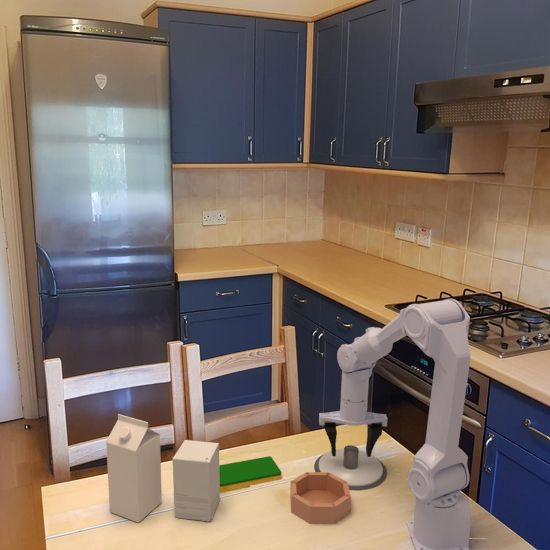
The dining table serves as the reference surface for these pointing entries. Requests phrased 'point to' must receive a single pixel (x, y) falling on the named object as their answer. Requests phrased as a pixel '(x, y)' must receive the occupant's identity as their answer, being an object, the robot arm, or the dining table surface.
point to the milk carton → (133, 468)
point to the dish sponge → (248, 473)
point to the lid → (352, 466)
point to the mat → (384, 475)
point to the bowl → (320, 498)
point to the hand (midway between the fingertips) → (350, 454)
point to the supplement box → (196, 480)
